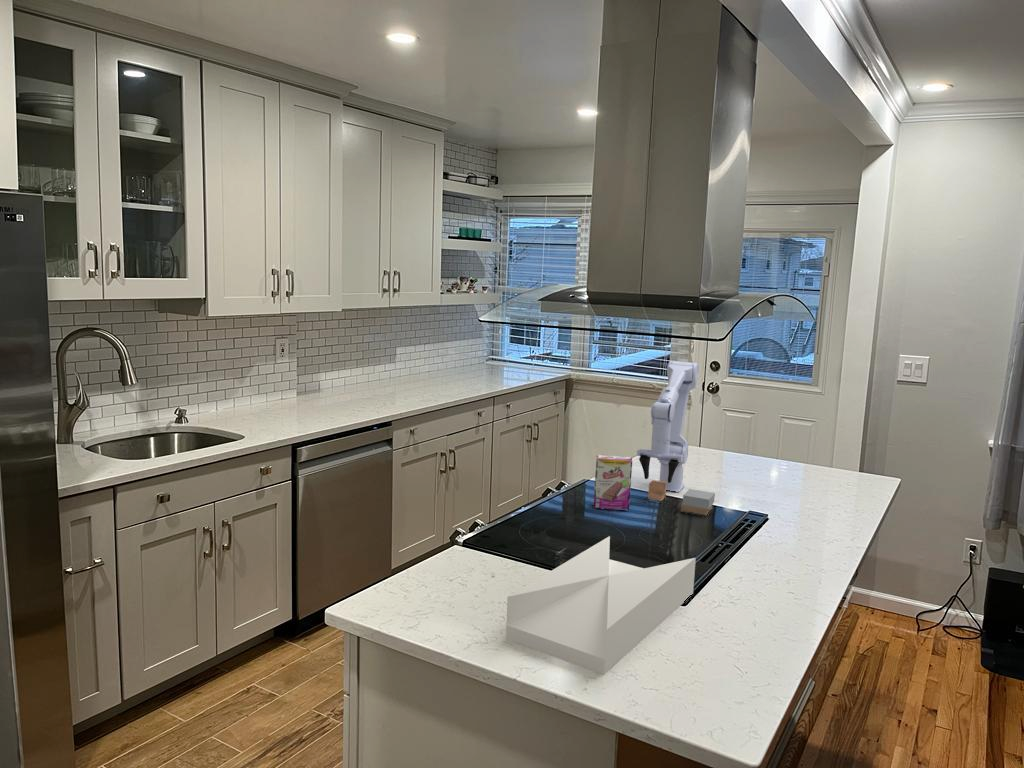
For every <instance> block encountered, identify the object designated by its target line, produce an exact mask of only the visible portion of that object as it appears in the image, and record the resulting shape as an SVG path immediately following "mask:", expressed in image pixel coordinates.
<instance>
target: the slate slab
mask: <svg viewBox="0 0 1024 768" xmlns="http://www.w3.org/2000/svg"><path fill="white" fill-rule="evenodd" d="M715 496H716V494H715V492H711V491H706V490H705V491H704V490H699V489H692V488H689V489H688V490H687V491H686V492H685V493H684V494H683V495H682V503H683V505H688V506H693V507H699V508H705V509H709V508H710V507H711V505H712V504H715ZM712 506H713V505H712Z"/></svg>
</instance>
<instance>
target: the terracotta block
mask: <svg viewBox="0 0 1024 768" xmlns="http://www.w3.org/2000/svg"><path fill="white" fill-rule="evenodd" d="M666 483H667V482H662V481H660V480H654V479H653V480H651V481H650V482H649V484H648V493H647V494H648V497H647V500H648V499H652V500H659V501H662V500H663V499H664V498H665V499H666V496H667V495H666V494H667V491H666Z"/></svg>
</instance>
